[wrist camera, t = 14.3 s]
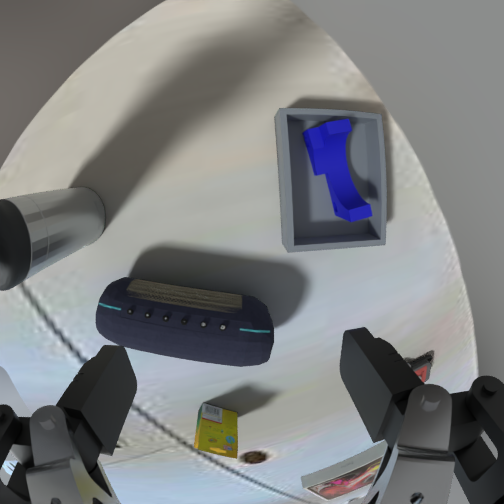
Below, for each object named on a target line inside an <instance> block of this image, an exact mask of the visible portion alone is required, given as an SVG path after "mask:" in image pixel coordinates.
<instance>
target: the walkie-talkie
mask: <svg viewBox="0 0 504 504" xmlns="http://www.w3.org/2000/svg"><path fill="white" fill-rule="evenodd" d="M428 358H429V359H428ZM431 359H432V356H431V355H428V356H426V357H422V358H420V359H418V360H416V361H414V362H412V363H410V364H409V363H407V364H408V365H409V366H410V367H411V368H412V369H413V371H414V372H415V373H416V374H417V375H418V377H419V378H420V379H421V380H422V381H423V383H424V382H426V381H427V380H428V379H429V376H430V369H431V363H430V361H431Z"/></svg>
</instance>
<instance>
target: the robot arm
mask: <svg viewBox="0 0 504 504" xmlns="http://www.w3.org/2000/svg"><path fill="white" fill-rule="evenodd" d="M104 226H105V210H104V206H103V203H102V201H101V199H100V198H99V196H98V195H97V194H96V193H95V192H94V191H93V190H91V189H89V188H86V187H76V188H68V189H60V190H53V191H46V192H40V193H33V194H28V195H22V196H17V197H12V198H7V199H1V200H0V290H1V291H4V290H9V289H11V288H13V287H15V286H16V285H18V284H20V283H21V282H23V281H24V280H26V279H28V278H29V277H31V276H33V275H35V274H36V273H38V272H39V271H41V270H43V269H45V268H47V267H48V266H50V265H52V264H54V263H56V262H57V261H59V260H61V259H63V258H65V257H67V256H69V255H70V254H72V253H74V252H76V251H78V250H80V249H82V248H84V247H86V246H88V245H90V244H92V243H94V242H95V241H96V240H97V239H98V238H99V237H100V236H101V234H102V232H103V229H104ZM340 374H341V378H342V380H343V382H344V384H345V386H346V388H347V390H348V392H349V394H350V396H351V398H352V400H353V402H354V404H355V406H356V408H357V410H358V412H359V414H360V416H361V418H362V420H363V422H364V424H365V426H366V428H367V431H368V433H369V435H370V437H371V439H372V441H373V443H375V442H378V441H381V440H384V439H385V440H386V442H387V444H388V445H387V447H386V449H385V452H384V454H383V457H382V460H381V463H380V465H379V468H378V470H377V473H376V475H375V478H374V480H373V482H372V485H371V487H370V489H369V491H368V493H367V495H366V497H365V499H364V500H363V502H362V504H447V501H448V497H449V493H450V488H451V483H452V478H453V472H454V473H455V475H456V477H457V479H458V481H459V483H460V485H461V487H462V489H463V491H464V493H465V495H466V497H467V499H468V501H469V503H470V504H504V384H503V383H502V382H501V381H500V380H499V379H497V378H495V377H492V376H481V377H478V378H477V379H475V380H474V382H473V384H472V386H471V388H470V390H469V391H464V392H459V393H452V394H449V392H448V391H447V390H446V389H444V388H443V387H441V386H438V385H434V384H424V383H423V381H422V380H421V379H420V378H419V377H418V375H417V374H416V373H415V372H414V371H413V369H412V368H411V367H410V366H409V365H408V364H407V362H406V361H405V360H403V358H402V357H401V355H400V354H398V353H397V351H396V350H395V348H394V347H393V346H392V345H391V344H390V343H388V342H387V341H385V340H383V339H381V338H374V337H373V335H372V334H371V333H370V332H369V331H368V329H367V328H365V327H362V328H357V329H351V330H346V331H345V332H344V334H343V342H342V350H341V358H340ZM136 391H137V380H136V376H135V374H134V371H133V369H132V366H131V363H130V360H129V358H128V355H127V352H126V350H125V348H124V347H123V346H116V345H104V346H103V347H102V348H101V349H100V351H99V352H98V354H97V355H96V356H95V357H93V358H91V359H90V360H89V361H87V362H86V363H85V364H84V365H83V366H82V367H81V369H80V370H79V372H78V374H77V375H76V376H75V377H74V379H73V381H72V382H71V383H70V385H69V386H68V388H67V389H66V391H65V392H64V394H63V395H62V397H61V398H60V400H59V401H58V403H57V404H56V406H54V405H47V406H43V407H41V408H39V409H37V410H36V411H35V412H34V413H33V414H32V416H31V417H18V416H17V415H16V414H15V412H14V411H13V410H12V408H11V407H10V406H8V405H4V404H3V405H0V469H1V467H2V465H3V463H4V461H5V459H6V457H7V455H8V453H9V452H10V453H11V454H12V455H13V457H14V458H15V459H16V460H17V461H18V462H17V464H16V467H15V469H14V471H13V473H12V475H11V478H10V480H9V482H8V485H7V486H6V485H4V484H3V482H2V481H1V479H0V504H121V503H120V502H119V500H118V498H117V496H116V494H115V492H114V490H113V488H112V486H111V484H110V482H109V480H108V478H107V476H106V474H105V472H104V469H103V467H102V465H101V463H100V461H99V460H98V457H99V454H100V453H101V454H106V455H110V456H112V455H113V452H114V449H115V446H116V444H117V441H118V438H119V435H120V433H121V430H122V427H123V425H124V422H125V420H126V417H127V414H128V412H129V409H130V407H131V404H132V402H133V399H134V397H135V394H136ZM483 431H485V432H486V434H487V435H488V436H489V438H490V439H491V441H492V442H493V444H494V445H495V447H496V448H497V451H498V458H497V460H496V458H495V457H494V455H493V454H492V452H491V451H490V449H489V448H488V446H487V445H486V443H485V442H484V441H483V439H482V437H481V434H482V433H483Z"/></svg>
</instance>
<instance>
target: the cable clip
mask: <svg viewBox="0 0 504 504" xmlns="http://www.w3.org/2000/svg"><path fill="white" fill-rule="evenodd" d="M351 131H352V128H351V125H350V121H349V119H343V120H337V121H332V122H326V123H324V124H323V125H321V126H319V127H316V128H311V129H307V130H306V131H304V132H303V133H302V134H303V137H304V141H305V144H306V147H307V151H308V154H309V158H310V161H311V165H312V169H313V172H314V176H317V175H322V174H325V176H326V180H327V184H328V188H329V192H330V196H331V200H332V205H333V209H334V213H335V216H338V217H340V218H342V219H345V220H347V221H349V222H354V221H357V220H361V219H364V218H368V217H371V216H372V210H371V205H370V204H369V203H367V202H366V201H364V200H363V199H362V197H361V196H360V195H359V193H358V191H357V190H356V188H355V186H354V184H353V181H352V179H351V176H350V173H349V169H348V165H347V160H346V139H347V136H348V134H349V133H350V132H351Z"/></svg>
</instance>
